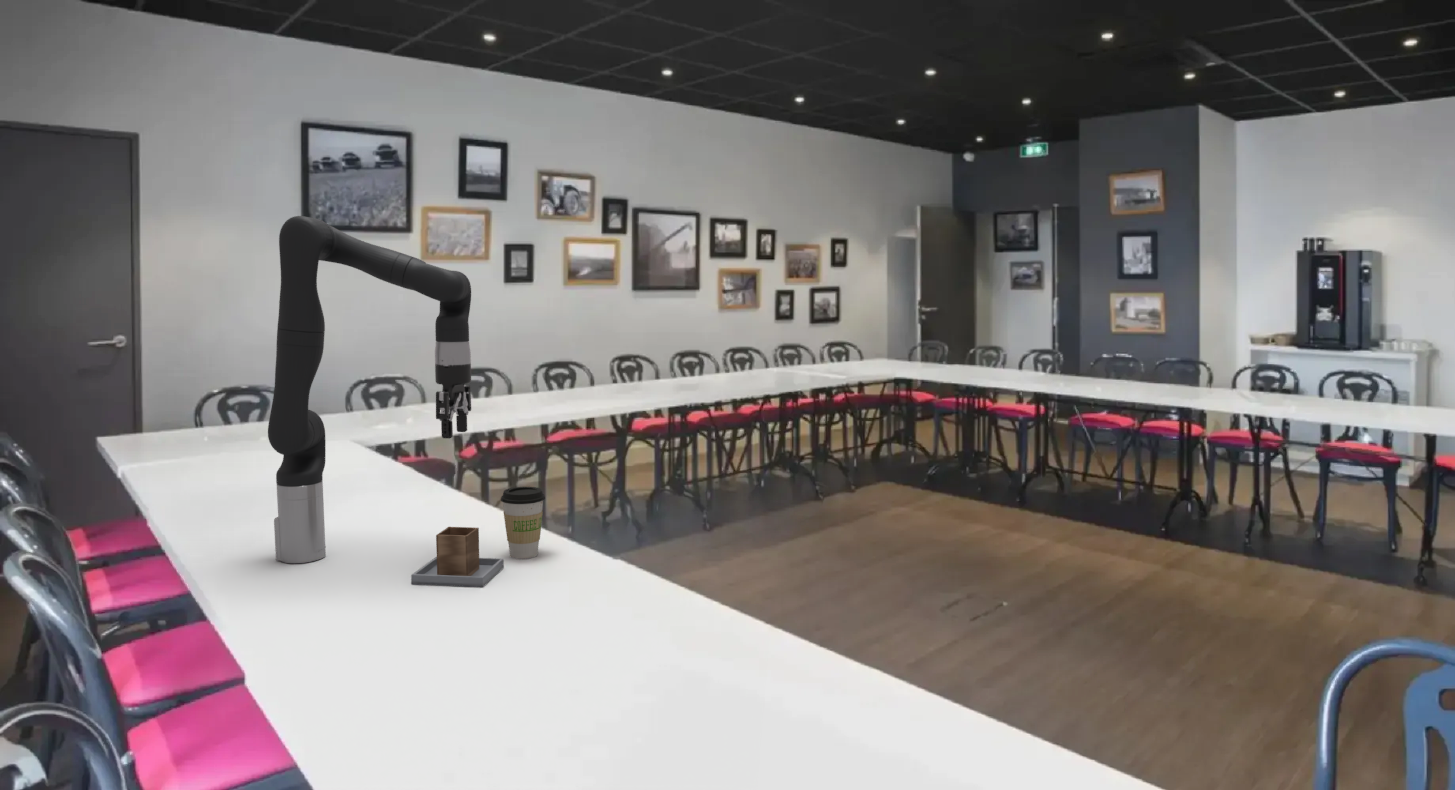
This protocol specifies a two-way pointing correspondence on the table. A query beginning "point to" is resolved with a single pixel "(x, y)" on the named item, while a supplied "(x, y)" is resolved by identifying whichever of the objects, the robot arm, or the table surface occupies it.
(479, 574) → the tray
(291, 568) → the table surface
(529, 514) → the coffee cup
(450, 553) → the pen cup
